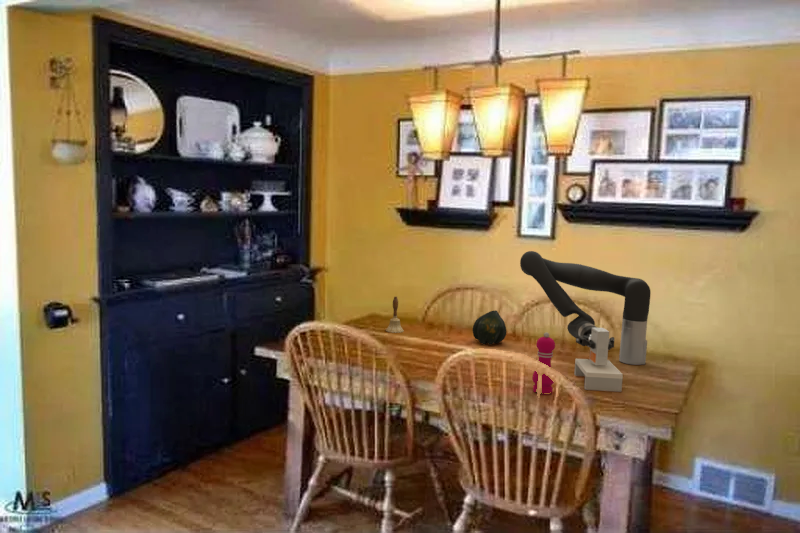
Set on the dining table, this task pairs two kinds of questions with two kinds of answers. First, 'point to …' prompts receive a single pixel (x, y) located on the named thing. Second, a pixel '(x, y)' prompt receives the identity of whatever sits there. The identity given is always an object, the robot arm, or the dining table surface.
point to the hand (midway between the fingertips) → (601, 346)
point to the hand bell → (395, 320)
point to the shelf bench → (599, 375)
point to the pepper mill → (544, 361)
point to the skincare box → (599, 346)
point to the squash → (489, 328)
